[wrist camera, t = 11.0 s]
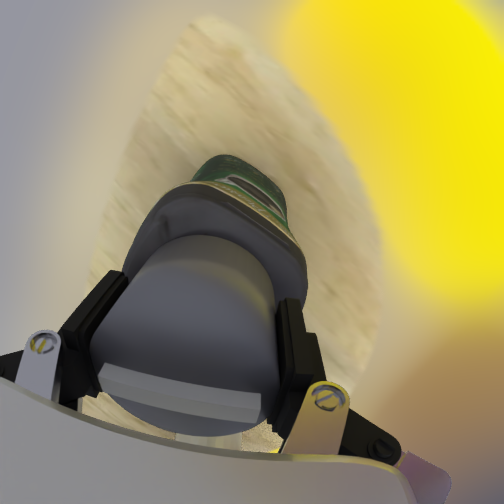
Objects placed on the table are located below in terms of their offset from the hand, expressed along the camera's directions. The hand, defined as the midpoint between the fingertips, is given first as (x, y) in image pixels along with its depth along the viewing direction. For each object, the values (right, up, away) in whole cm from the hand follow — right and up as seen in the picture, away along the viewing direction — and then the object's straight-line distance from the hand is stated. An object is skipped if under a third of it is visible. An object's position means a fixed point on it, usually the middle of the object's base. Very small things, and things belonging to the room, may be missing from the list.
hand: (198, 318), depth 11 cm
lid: (0, +1, +1) cm, 1 cm away
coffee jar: (0, +8, +19) cm, 20 cm away
